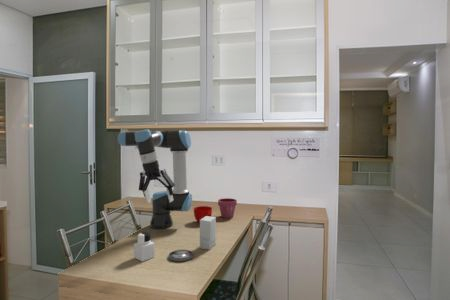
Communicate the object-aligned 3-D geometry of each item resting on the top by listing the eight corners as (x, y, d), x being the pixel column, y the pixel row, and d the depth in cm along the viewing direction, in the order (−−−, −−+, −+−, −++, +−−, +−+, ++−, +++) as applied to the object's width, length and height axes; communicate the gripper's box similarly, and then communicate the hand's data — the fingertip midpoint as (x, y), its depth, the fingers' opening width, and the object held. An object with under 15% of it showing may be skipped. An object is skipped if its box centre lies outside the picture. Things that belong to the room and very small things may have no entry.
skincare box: (205, 243, 153) (205, 215, 153) (216, 244, 151) (216, 216, 150) (199, 248, 145) (199, 219, 145) (210, 250, 143) (210, 220, 143)
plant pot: (232, 213, 218) (232, 197, 217) (239, 217, 205) (239, 200, 204) (215, 215, 212) (215, 198, 212) (222, 219, 199) (222, 202, 199)
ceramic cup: (201, 227, 181) (201, 212, 181) (190, 221, 195) (190, 207, 195) (218, 224, 188) (218, 210, 188) (206, 218, 203) (206, 205, 202)
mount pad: (170, 252, 141) (170, 249, 140) (194, 251, 141) (194, 249, 141) (166, 262, 129) (166, 259, 129) (192, 261, 129) (192, 259, 129)
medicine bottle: (146, 253, 139) (146, 230, 139) (154, 257, 135) (154, 233, 134) (133, 257, 134) (133, 233, 133) (142, 261, 129) (142, 236, 129)
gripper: (124, 166, 134) (135, 206, 138) (166, 160, 125) (177, 203, 128) (134, 161, 141) (145, 200, 145) (175, 156, 131) (185, 197, 135)
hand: (160, 202), depth 136 cm, fingers open, 13 cm apart
